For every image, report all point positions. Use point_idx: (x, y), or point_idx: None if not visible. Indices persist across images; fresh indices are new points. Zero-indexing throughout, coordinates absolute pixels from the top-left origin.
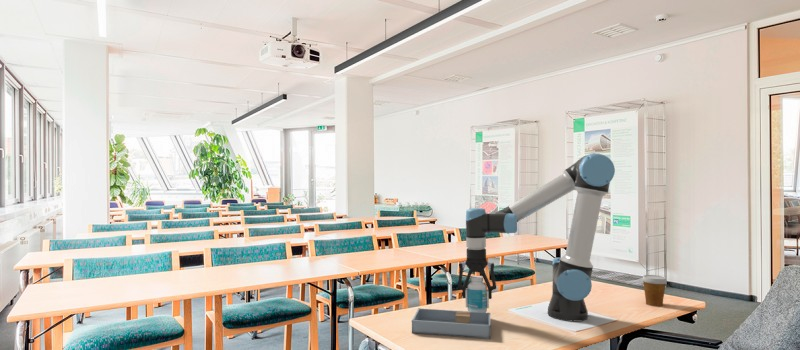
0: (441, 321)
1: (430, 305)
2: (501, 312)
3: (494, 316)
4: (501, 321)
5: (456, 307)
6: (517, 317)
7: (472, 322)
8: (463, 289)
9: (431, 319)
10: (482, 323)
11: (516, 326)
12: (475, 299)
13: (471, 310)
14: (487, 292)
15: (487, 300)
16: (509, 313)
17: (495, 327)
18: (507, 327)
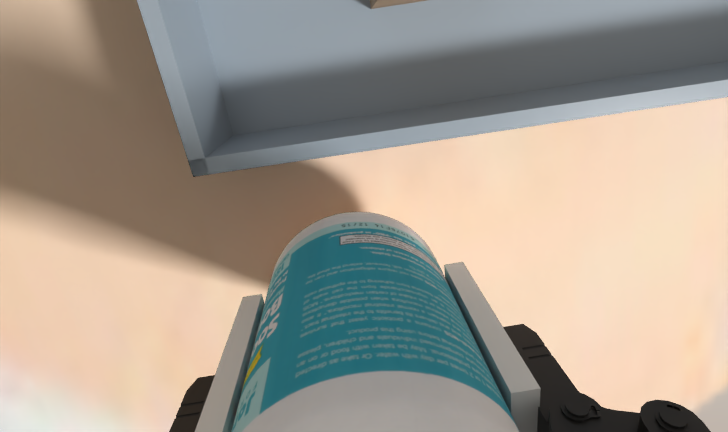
0: (634, 44)
1: (692, 402)
2: None
3: None
4: (172, 257)
5: None
6: (100, 372)
7: (367, 116)
8: (577, 399)
9: (723, 62)
10: (281, 119)
11: (25, 184)
12: (365, 277)
13: (399, 225)
14: (210, 426)
15: (238, 344)
16: None
17: None
18: (79, 133)
